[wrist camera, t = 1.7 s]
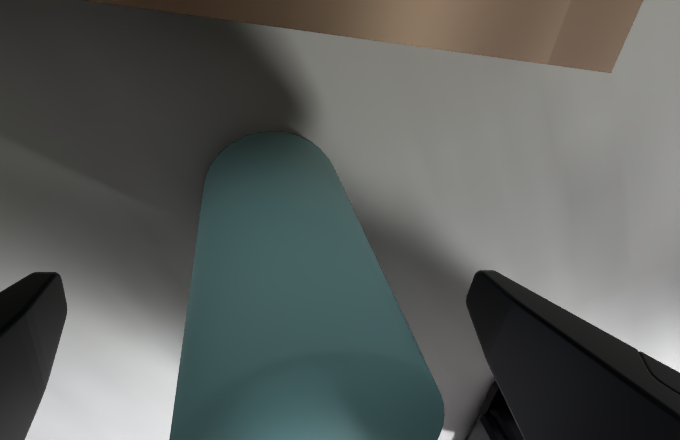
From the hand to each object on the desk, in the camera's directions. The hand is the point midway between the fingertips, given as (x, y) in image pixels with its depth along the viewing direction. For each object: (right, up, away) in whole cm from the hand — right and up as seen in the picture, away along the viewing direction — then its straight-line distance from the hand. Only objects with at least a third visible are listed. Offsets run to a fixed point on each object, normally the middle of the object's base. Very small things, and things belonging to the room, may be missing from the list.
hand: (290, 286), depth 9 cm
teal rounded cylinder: (-1, +2, +4) cm, 4 cm away
